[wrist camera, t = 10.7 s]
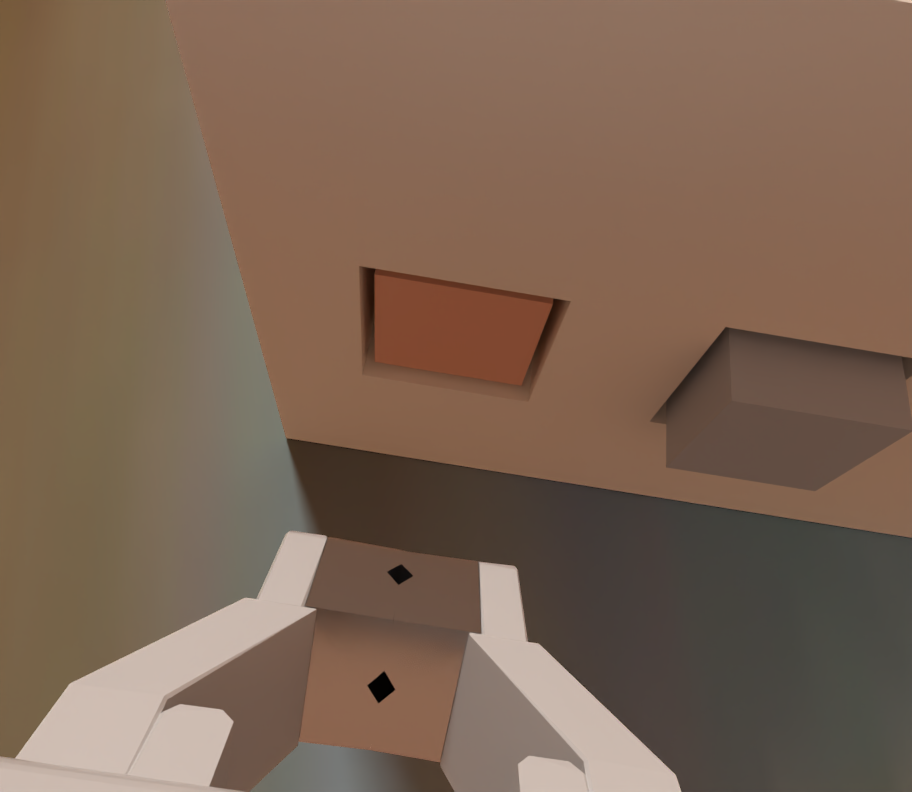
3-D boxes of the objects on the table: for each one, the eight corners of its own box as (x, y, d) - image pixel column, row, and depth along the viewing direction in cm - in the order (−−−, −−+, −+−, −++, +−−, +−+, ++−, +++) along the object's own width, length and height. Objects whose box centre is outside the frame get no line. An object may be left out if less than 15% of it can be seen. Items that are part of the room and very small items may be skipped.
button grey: (666, 467, 19) (731, 400, 16) (666, 383, 20) (727, 303, 17) (815, 491, 19) (913, 430, 16) (807, 406, 21) (897, 332, 17)
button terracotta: (374, 362, 20) (374, 274, 16) (390, 286, 21) (393, 188, 17) (521, 385, 20) (552, 304, 16) (529, 309, 21) (560, 216, 18)
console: (286, 437, 25) (126, -139, 9) (334, 249, 29) (282, -401, 13) (1027, 556, 26) (2099, 218, 10) (984, 358, 29) (1715, -127, 13)
